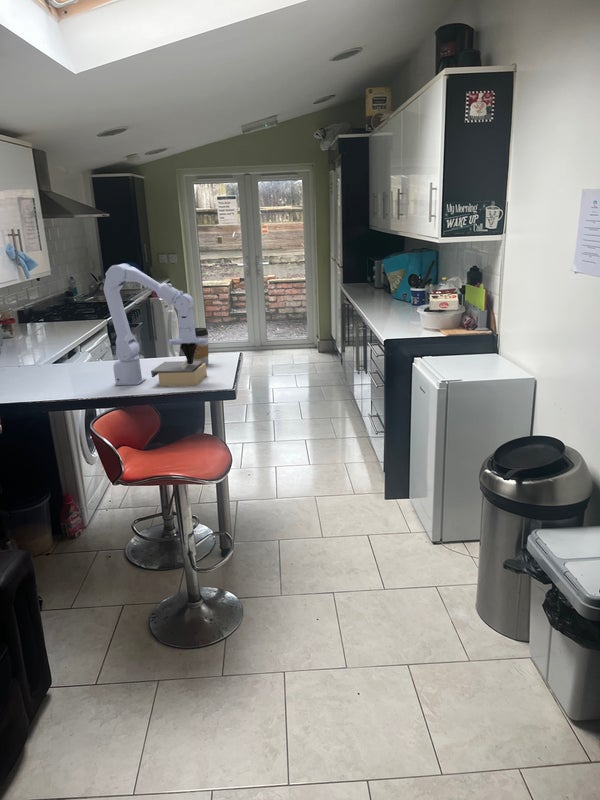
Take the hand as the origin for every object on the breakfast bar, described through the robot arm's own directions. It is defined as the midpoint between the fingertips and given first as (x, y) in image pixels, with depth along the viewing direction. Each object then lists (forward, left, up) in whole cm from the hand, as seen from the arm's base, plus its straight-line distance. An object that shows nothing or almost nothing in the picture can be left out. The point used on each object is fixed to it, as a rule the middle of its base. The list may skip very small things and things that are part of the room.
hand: (190, 363), depth 227 cm
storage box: (-3, 0, -7) cm, 8 cm away
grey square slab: (-5, 0, -3) cm, 6 cm away
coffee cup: (-4, +26, -7) cm, 27 cm away
